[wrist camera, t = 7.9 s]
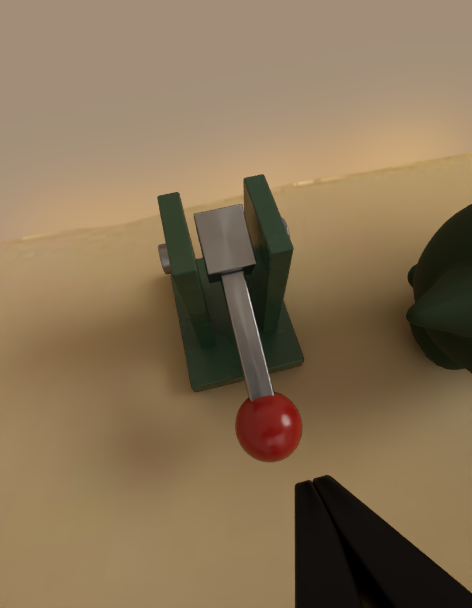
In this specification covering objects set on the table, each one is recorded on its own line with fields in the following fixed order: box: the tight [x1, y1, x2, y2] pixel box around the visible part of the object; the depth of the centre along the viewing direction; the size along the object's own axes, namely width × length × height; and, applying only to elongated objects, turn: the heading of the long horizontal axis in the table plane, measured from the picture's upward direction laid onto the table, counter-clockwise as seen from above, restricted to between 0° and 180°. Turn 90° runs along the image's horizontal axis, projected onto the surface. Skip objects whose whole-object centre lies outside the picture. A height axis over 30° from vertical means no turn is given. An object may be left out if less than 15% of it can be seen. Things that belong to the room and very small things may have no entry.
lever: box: [194, 204, 302, 462], centre depth 15 cm, size 11×3×3 cm, turn 14°
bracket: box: [158, 175, 304, 392], centre depth 18 cm, size 9×7×10 cm
